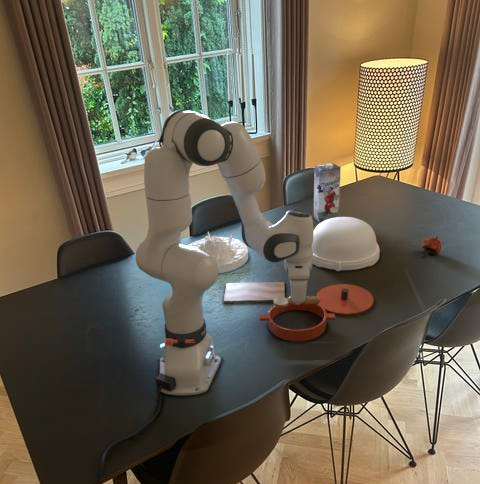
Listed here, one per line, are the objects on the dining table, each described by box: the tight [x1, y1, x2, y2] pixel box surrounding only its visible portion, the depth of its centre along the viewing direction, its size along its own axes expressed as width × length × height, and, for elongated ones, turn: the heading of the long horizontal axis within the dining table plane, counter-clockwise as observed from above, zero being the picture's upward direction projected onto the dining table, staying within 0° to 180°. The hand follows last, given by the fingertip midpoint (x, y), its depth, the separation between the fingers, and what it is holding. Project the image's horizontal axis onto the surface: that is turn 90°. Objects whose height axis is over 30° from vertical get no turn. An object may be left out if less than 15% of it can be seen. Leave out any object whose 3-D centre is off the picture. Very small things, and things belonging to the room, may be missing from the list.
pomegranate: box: [421, 236, 442, 257], centre depth 200 cm, size 7×7×10 cm
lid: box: [315, 283, 375, 316], centre depth 175 cm, size 20×20×4 cm
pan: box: [259, 304, 336, 342], centre depth 164 cm, size 19×24×4 cm
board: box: [223, 281, 286, 305], centre depth 184 cm, size 13×22×1 cm, turn 86°
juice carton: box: [313, 162, 341, 224], centre depth 230 cm, size 9×10×27 cm
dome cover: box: [312, 216, 381, 272], centre depth 203 cm, size 32×30×14 cm
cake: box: [186, 231, 249, 274], centre depth 208 cm, size 28×28×10 cm
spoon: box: [272, 295, 321, 308], centre depth 161 cm, size 15×5×3 cm, turn 86°
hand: (297, 300), depth 161 cm, fingers closed on spoon, 2 cm apart
